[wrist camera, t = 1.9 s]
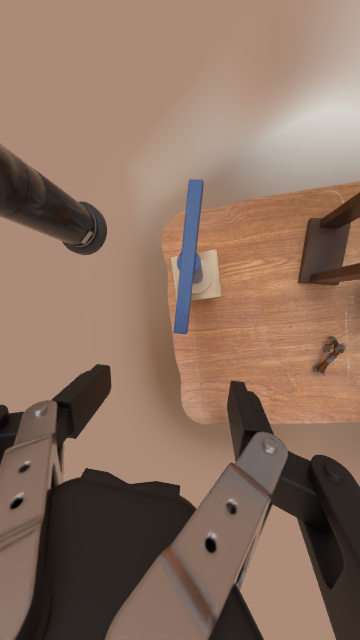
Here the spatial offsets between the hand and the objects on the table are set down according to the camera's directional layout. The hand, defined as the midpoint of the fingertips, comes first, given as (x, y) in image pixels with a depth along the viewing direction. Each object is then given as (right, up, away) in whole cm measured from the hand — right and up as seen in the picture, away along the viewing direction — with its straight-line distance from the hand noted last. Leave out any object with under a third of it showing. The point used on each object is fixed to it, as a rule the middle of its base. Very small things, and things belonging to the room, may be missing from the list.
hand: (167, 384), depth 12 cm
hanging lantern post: (+31, -3, +28) cm, 42 cm away
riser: (+5, +12, +29) cm, 32 cm away
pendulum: (+3, +11, +16) cm, 19 cm away
